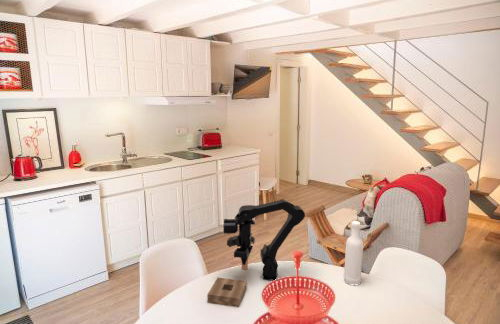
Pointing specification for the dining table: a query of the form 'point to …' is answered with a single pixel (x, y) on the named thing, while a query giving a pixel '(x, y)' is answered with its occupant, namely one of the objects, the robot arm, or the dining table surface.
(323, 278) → the dining table surface
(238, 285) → the hole block
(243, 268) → the peg
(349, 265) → the bottle
